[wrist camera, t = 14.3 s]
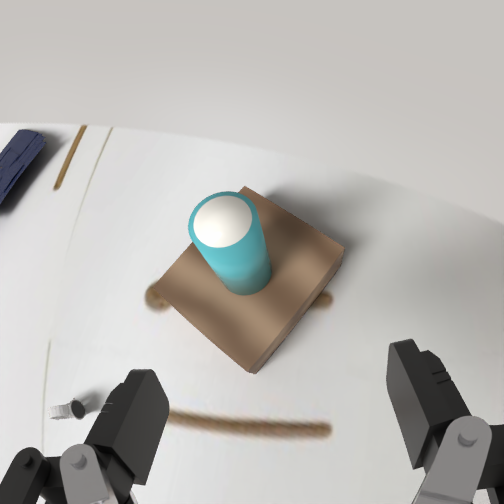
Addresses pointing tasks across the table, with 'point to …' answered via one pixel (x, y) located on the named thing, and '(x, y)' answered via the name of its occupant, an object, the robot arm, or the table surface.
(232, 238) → the tumbler
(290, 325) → the wooden square base
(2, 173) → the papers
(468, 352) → the table surface
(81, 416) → the wristwatch
